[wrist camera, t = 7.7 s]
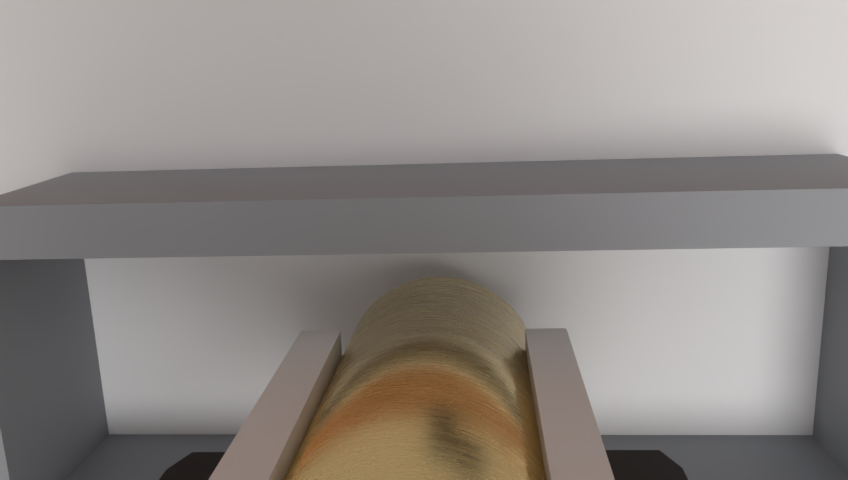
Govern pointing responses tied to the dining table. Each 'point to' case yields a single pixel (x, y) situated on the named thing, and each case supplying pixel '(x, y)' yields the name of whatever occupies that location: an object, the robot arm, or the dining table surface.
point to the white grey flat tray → (423, 211)
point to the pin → (428, 392)
